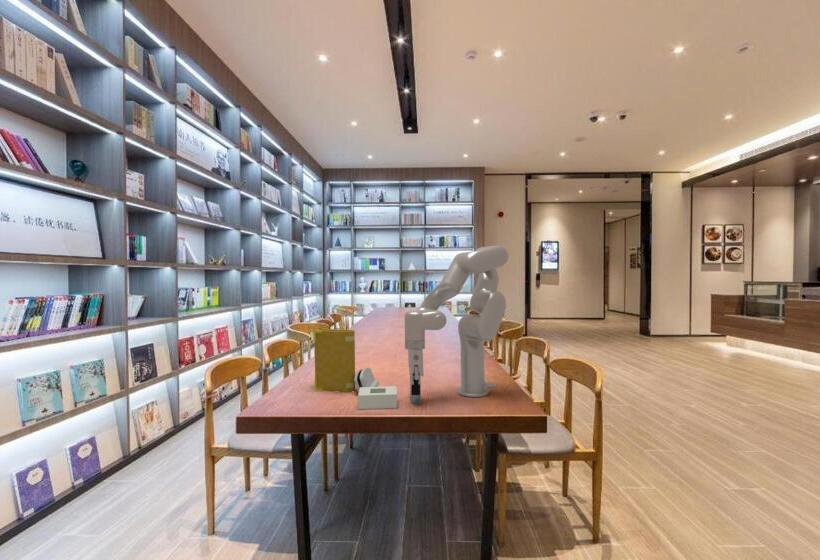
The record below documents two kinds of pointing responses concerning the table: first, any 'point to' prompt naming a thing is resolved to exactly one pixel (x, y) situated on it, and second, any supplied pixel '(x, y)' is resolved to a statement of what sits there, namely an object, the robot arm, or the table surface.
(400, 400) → the table surface
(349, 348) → the book
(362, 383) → the hinge
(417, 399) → the pin
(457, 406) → the table surface
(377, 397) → the socket block
